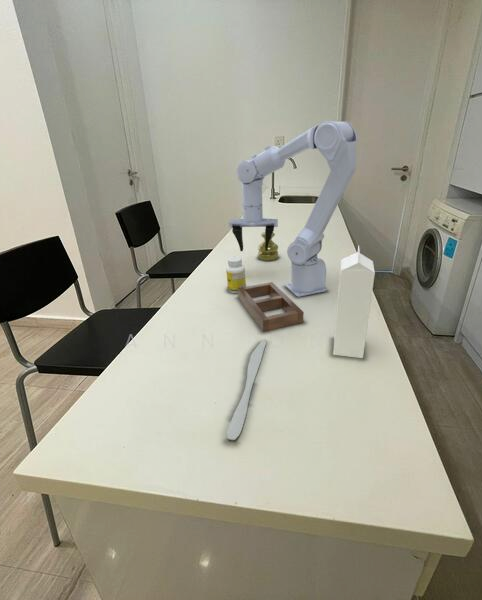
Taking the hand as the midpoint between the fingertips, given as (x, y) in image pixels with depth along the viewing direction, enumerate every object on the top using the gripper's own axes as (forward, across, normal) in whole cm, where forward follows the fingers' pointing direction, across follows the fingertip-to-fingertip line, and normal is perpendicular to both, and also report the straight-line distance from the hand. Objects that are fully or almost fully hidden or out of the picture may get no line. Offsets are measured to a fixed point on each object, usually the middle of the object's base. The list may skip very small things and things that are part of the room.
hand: (254, 250), depth 102 cm
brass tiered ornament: (+10, +3, +19) cm, 22 cm away
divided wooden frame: (+9, +5, -21) cm, 23 cm away
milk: (+10, +23, -38) cm, 45 cm away
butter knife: (+9, +3, -49) cm, 50 cm away
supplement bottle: (+10, -5, -9) cm, 14 cm away
